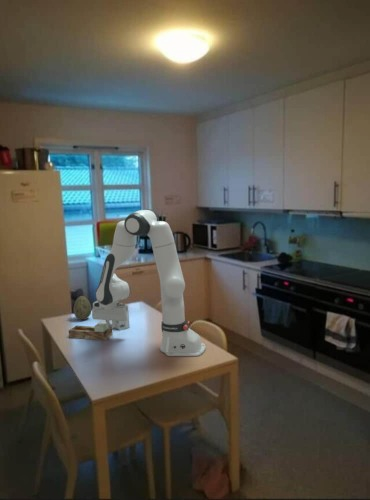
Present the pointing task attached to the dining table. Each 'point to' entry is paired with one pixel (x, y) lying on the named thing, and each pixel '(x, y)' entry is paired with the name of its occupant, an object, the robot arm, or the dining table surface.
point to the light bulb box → (122, 324)
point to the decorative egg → (82, 308)
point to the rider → (101, 327)
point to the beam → (89, 333)
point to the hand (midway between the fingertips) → (111, 327)
